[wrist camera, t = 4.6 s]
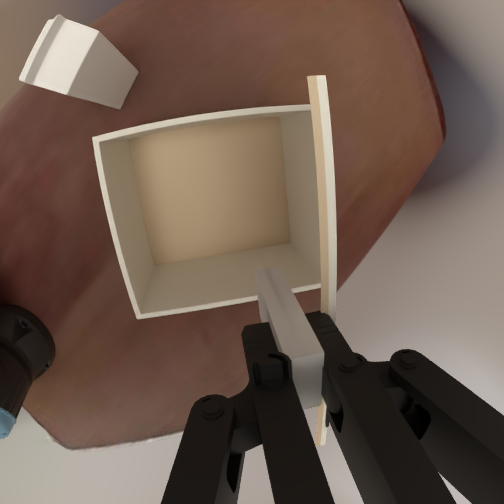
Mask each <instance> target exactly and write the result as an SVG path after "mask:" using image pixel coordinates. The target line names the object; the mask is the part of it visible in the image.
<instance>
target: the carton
mask: <svg viewBox="0 0 504 504" xmlns="http://www.w3.org/2000/svg"><path fill="white" fill-rule="evenodd" d="M92 139H93V146H94V152H95V158H96V164H97V170H98V175H99V180H100V185H101V190H102V195H103V200H104V204H105V209H106V213H107V218H108V222H109V226H110V230H111V234H112V238H113V242H114V246H115V249H116V253H117V257H118V260H119V264H120V267H121V271H122V274H123V277H124V281H125V284H126V287H127V290H128V294H129V297H130V300H131V303H132V306H133V309H134V312H135V315H136V318H137V319H143V318H150V317H157V316H164V315H171V314H177V313H184V312H190V311H197V310H203V309H209V308H215V307H221V306H226V305H232V304H238V303H244V302H249V301H255V300H258V295H257V287H256V279H255V270H261V269H267V268H274V267H280V269H281V271H282V273H283V275H284V277H285V278H286V280H287V282H288V284H289V286H290V288H291V290H292V292H293V293H296V292H301V291H306V290H311V289H316V288H321V261H320V229H319V207H318V189H317V173H316V159H315V147H314V135H313V125H312V115H311V105H287V106H272V107H259V108H248V109H239V110H230V111H222V112H214V113H207V114H200V115H194V116H187V117H181V118H176V119H170V120H165V121H160V122H155V123H150V124H145V125H140V126H136V127H131V128H127V129H123V130H119V131H115V132H111V133H107V134H103V135H99V136H96V137H92Z"/></svg>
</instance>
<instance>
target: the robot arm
mask: <svg viewBox="0 0 504 504" xmlns="http://www.w3.org/2000/svg"><path fill="white" fill-rule="evenodd" d="M255 279H256V287H257V295H258V303H259V311H260V318H261V321H262V323H258V324H253V325H247V326H245V327H244V329H243V331H242V334H241V335H242V341H243V347H244V352H245V358H246V364H247V369H248V374H249V383H248V385H247V387H246V388H245V389H244V390H243V391H242V392H241V393H239V394H237V395H235V396H233V397H230V398H226V397H225V396H222V395H217V394H215V395H207V396H205V397H202V398H200V399H199V400H198V401H196V402H195V403H194V405H193V407H192V408H191V411H190V414H189V417H188V420H187V424H186V427H185V430H184V433H183V436H182V439H181V442H180V445H179V449H178V452H177V455H176V458H175V461H174V464H173V467H172V470H171V473H170V477H169V480H168V483H167V486H166V489H165V492H164V496H163V499H162V502H161V504H237V500H238V494H239V488H240V482H241V476H242V469H243V463H244V457H245V451H248V450H250V449H252V448H254V447H256V446H258V445H261V444H263V449H264V454H265V459H266V464H267V469H268V474H269V479H270V483H271V488H272V493H273V497H274V502H275V504H335V503H334V500H333V497H332V494H331V491H330V488H329V486H328V482H327V479H326V476H325V473H324V470H323V467H322V464H321V462H320V458H319V456H318V453H317V450H316V447H315V444H314V441H313V438H312V435H311V432H310V429H309V426H308V423H307V420H306V417H305V414H304V411H303V410H304V409H308V408H312V407H316V406H320V405H322V397H323V399H324V402H325V404H326V406H327V407H326V418H325V426H326V427H328V426H329V422H330V424H331V427H332V429H333V431H334V434H335V436H336V438H337V441H338V443H339V446H340V448H341V450H342V452H343V455H344V457H345V460H346V462H347V464H348V467H349V469H350V471H351V473H352V476H353V478H354V481H355V483H356V485H357V488H358V490H359V492H360V495H361V497H362V500H363V502H364V504H456V502H455V500H454V499H453V497H452V495H451V493H450V491H449V490H448V488H447V487H446V485H445V483H444V481H443V480H442V478H441V476H440V475H439V473H440V474H441V475H442V476H443V477H444V478H445V479H446V480H447V481H448V482H450V483H451V485H453V486H454V487H455V488H456V489H457V490H458V491H459V492H460V493H461V494H462V495H463V496H464V497H465V498H466V499H468V500H469V501H470V502H471V503H472V504H504V416H503V415H502V414H501V413H500V412H498V411H497V410H496V409H494V408H493V407H492V406H490V405H489V404H488V403H486V402H485V401H484V400H482V399H481V398H480V397H478V396H477V395H476V394H474V393H473V392H472V391H471V390H469V389H468V388H467V387H465V386H464V385H463V384H461V383H460V382H459V381H457V380H456V379H455V378H453V377H452V376H450V375H449V374H448V373H446V372H445V371H444V370H443V369H441V368H440V367H438V366H437V365H436V364H434V363H433V362H432V361H430V360H429V359H428V358H426V357H425V356H424V355H422V354H421V353H419V352H417V351H415V350H410V349H403V350H399V351H397V352H395V353H394V354H393V355H392V356H391V359H390V361H385V362H384V361H383V362H369V361H367V359H365V358H364V357H363V356H362V355H360V354H358V353H354V352H352V350H351V348H350V347H349V345H348V344H347V342H346V341H345V339H344V337H343V336H342V334H341V333H340V331H339V330H338V328H337V326H336V325H335V323H334V322H333V320H332V318H331V317H330V316H329V315H328V314H326V313H321V311H316V312H312V313H307V314H304V312H303V311H302V309H301V307H300V305H299V303H298V301H297V299H296V297H295V295H294V293H293V292H292V290H291V288H290V286H289V284H288V282H287V280H286V278H285V277H284V275H283V273H282V271H281V269H280V267H274V268H267V269H261V270H255ZM54 357H55V347H54V343H53V340H52V338H51V336H50V334H49V332H48V331H47V329H46V328H45V326H44V325H43V324H42V323H41V322H40V321H39V320H38V319H37V318H36V317H35V316H34V315H32V314H31V313H30V312H28V311H26V310H25V309H23V308H20V307H17V306H12V305H8V306H3V307H1V308H0V439H2V438H5V437H7V436H8V435H9V433H10V431H11V429H12V427H13V426H14V424H15V423H16V419H17V416H18V414H19V411H20V409H21V407H22V404H23V402H24V400H25V397H26V395H27V393H28V391H29V388H30V386H31V384H32V383H33V382H34V381H35V380H36V379H37V378H39V377H40V376H41V375H42V374H43V373H45V372H46V371H47V370H48V369H49V367H50V366H51V364H52V362H53V360H54ZM438 472H439V473H438Z"/></svg>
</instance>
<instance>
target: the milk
mask: <svg viewBox="0 0 504 504" xmlns="http://www.w3.org/2000/svg"><path fill="white" fill-rule="evenodd" d="M138 73H139V71H138V70H137V69H136V68H135V67H134V66H133V65H132V64H131V63H130V62H129V61H128V60H127V59H126V58H125V57H124V56H123V55H122V54H121V53H120V52H119V51H118V50H117V49H116V48H115V47H114V46H113V45H112V44H111V43H110V42H109V41H108V40H107V39H106V38H105V37H104V36H103V35H102V34H101V33H100V32H99V31H98V30H95V29H93V28H90V27H87V26H85V25H81V24H79V23H76V22H73V21H70V20H68V19H65V18H64V17H63V16H62V15H57V16H56V17H55V19H51V20H48V21H47V23H46V25H45V27H44V28H43V30H42V32H41V34H40V36H39V38H38V39H37V41H36V43H35V45H34V47H33V49H32V51H31V53H30V55H29V57H28V60H27V62H26V64H25V66H24V68H23V71H22V73H21V75H20V77H19V80H20V81H23V82H25V83H27V84H32V85H35V86H39V87H42V88H46V89H49V90H52V91H56V92H59V93H62V94H65V95H69V96H73V97H77V98H81V99H85V100H88V101H92V102H95V103H99V104H102V105H106V106H109V107H113V108H116V109H121V107H122V105H123V103H124V101H125V99H126V97H127V94H128V92H129V90H130V88H131V86H132V84H133V83H134V81H135V79H136V77H137V75H138Z"/></svg>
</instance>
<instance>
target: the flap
mask: <svg viewBox="0 0 504 504" xmlns="http://www.w3.org/2000/svg"><path fill="white" fill-rule="evenodd" d="M307 79H308V87H309V96H310V105H311V115H312V125H313V135H314V147H315V159H316V173H317V189H318V207H319V229H320V261H321V313H326V314H328V315H329V316H330V317H331V318H332V320H333V322H334V323H335V319H336V282H337V237H336V199H335V177H334V160H333V146H332V133H331V122H330V111H329V102H328V93H327V84H326V76H325V75H319V76H307ZM326 407H327V406H326V404H325V402H324V399H323V397H322V405H320V406H318V417H317V431H316V444H315V445H319V446H325V442H326V433H327V427H326V426H325V418H326Z"/></svg>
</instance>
